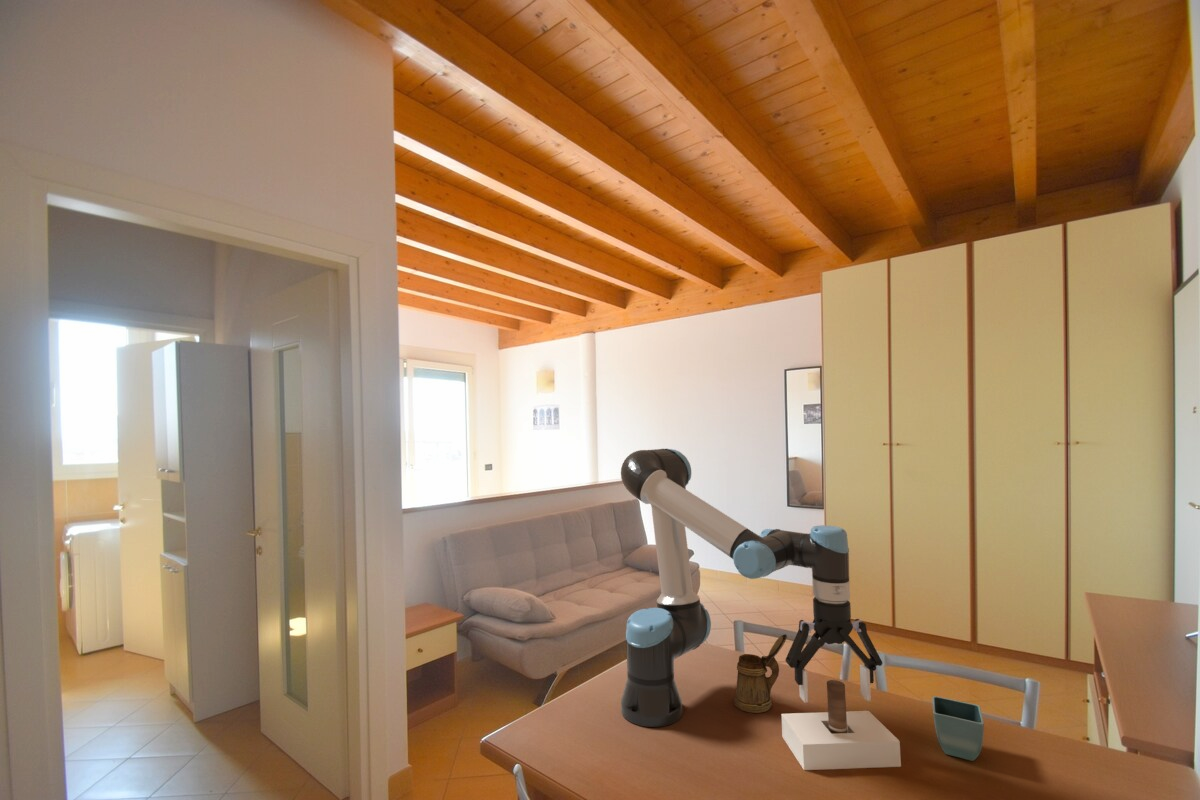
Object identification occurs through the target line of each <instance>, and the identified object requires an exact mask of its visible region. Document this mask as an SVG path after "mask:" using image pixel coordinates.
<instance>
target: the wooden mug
mask: <svg viewBox="0 0 1200 800" xmlns="http://www.w3.org/2000/svg"><path fill="white" fill-rule="evenodd" d="M787 639H788V635H787V634H786V633H785V634H782V635H781V636H779V637H778V638H777V639H776V640H775V642H774V644H773V645H772V647H771V648H770V650H769V653H768V655H762V656H759V655H756V654H751V653H750V654H749V653H747V654H746V653H744V654H742V655H739V656H738V662H737V664H736V670H737V677H736V678H737V679H736V689H735V690H736V691H735V694H734V700H733V702H734V705H735V706H736V708H738V709H739V710H741V711H744V712H746V713H752V714H753V713H754V714H759V713H765V712H768V711H769V710H770V709H771V708H772V705H773V702H772V697H771V693H772V692H771V691H772V688H773V686H774V684H775V683H776V682H777V679H778V677H779V672H780V667H779V663H778V661H777V660H776V658H775V657H776V656H777V654H779V652H780V651H781V649H782V648H783V647H784V645H785V643H786V641H787ZM768 667H769V669H770V670H771V674H770V676H766V673H767V672H768Z"/></svg>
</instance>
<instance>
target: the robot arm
mask: <svg viewBox="0 0 1200 800" xmlns="http://www.w3.org/2000/svg"><path fill="white" fill-rule="evenodd" d="M620 478H621V481H622V483H623V486H624V487H625V489H626V491H628V492H629V493H630V494H631V495H632V496H634V498H636V499H637V500H639V501H640V502H641V503H643V504H644V505H649V504H650V506H651V515H652V523H653V529H654V530H653V531H654V540H655V541H654V542H655V549H656V557H657V565H658V567H657V568H658V573H659V583H660V591H661V593H660V594H659V597H658V598H657V599H656V605H657V607H648V608H641V609H638V610H636V611H634V612H632V613H631V615H630V616H629V617H628V619H627V621H626V630H625V641H626V667H627V669H626V670H627V672H626V673H627V674H626V675H627V679H626V682H625V687H624V689H623V693H622V697H621V701H620V708H621V709H620V710H621V715H622V716H623V717H624V719H625V720H627V721H628V722H630V723H632V724H635V725H637V726H641V727H648V728H660V727H664V726H665V727H666V726H668V725H672V724H674V723H676V722H678V721H679V720H680V719H681V717H682V716H683V702H682V697H681V695H680V692H679V689H678V685H677V684H676V683H677V682H676V680H675V665H674V664H675V663H674V662H675V661H674V660H676V659H677V658H680V657H681V656H683V655H686V654H687V653H689V652H690V651H694V650H696V649H697V648H699V647H700V646H701V645H702V644H703V643H705V642H706V641H707V639H708V638H709V635H710V633H711V629H712V622H711V621H712V620H711V615H710V613H709V611H708V609H706V608H705V605H704V604H703V603H702V602H701V600H700V599H701V598H700V596H699V595H698V594H697V593H696V592H695V591H694V590H693V589H694V588H693V581H692V580H693V579H692V573H691V571H692V570H691V564H690V555H689V549H688V547H689V546H688V541H687V532H686V528H687V529H688V530H690V531H691V532H693V533H694V534H695V535H697V536H699V537H701V538H702V539H703V540H704V541H706V542H707V543H709V544H710V545H711V546H713V547H715V548H716V549H718V550H719V551H721V552H722V553H724V554H725V555H727V556H728V557H729V558H730V559H732V560H733V565H734V567H735V569H736V570H737V571H738V573H739V574H740V575H741V576H743V577H745V578H748V579H750V580H754V579H761V578H764V577H768V576H769V575H771V574H772V573H774V572H776V571H779V570H781V569H784V568H785V567H788V566H794V567H800V568H806V569H811V576H812V595H813V596H814V597H813V599H812V606H813V607H812V608H813V610H812V611H813V621H812V622H809V621H805V620H803V619H801V620H799V622H798V630H797V634H796V635H795V637H794V640H793V641H792V644H791V646H790V648H789V650H788V653H787V655H786V657H785V663H787V665H788V666H789V667H790V668H791V669H794V681H795V682H796V684H797V685H798V686H799V687H798V689H799V690H798V691H799V698H800V699H801V700H802V701H803V703H804V704H806V703H809V691H808V688H809V687H808V686H809V685H808V670H807V669H806V667H807V665H808V664H809V663H810V661H811V660H812V658H813V657H814V656H815V655H816V653H817V652H818V651H819V650H820V648H821V647H824V645H825V644H827V645H833V644H838V645H842V644H844V643H846V644H847V646H848V647H849V649H851V650H852V651H853V652H854V654H855V655H856V656H857V658H859V660H860V661H861V662H862V663H863V664H859V680H860V696H862V698H864V699H865V701H866V702H871V701H872V700H871V699H872V697H871V695H872V693H871V684H873V683H874V681H875V680H874V679H875V678H874V672H875V671H876V670H877V666H878V667H881V666H882V665H883V661H882V659H881V657H880V655H879V653H878V651H877V649H876V648H875V645H874V644H873V641H872V639H871V637H870V636H869V634H868V630H867V624H866V623H865V622H864V621H862V620H861V619H860V618H856V619H855V620H853V621H851V618H852V616H851V615H852V611H851V610H852V609H851V602H850V598H851V589H850V587H851V586H850V583H851V581H850V548H849V541H848V533H847V531H846V530H845V529H844V528H842V527H840V526H835V525H824V524H823V525H822V524H821V525H820V524H819V525H815V526H812V527H811V528H810V532H809V533H805V532H797V531H789V530H783V529H779V528H775V529H772V528H765V529H763V530H762V531H761V532H760V533H759V534H757V533H755V532H754V531H752V530H750V528H747V527H745V526H744V525H743V524H742V523H739V521H736V520H735V519H733V518H732V517H730V516H728V515H727V514H726V513H724V512H722V511H721V510H719V509H718V508H716V507H715V506H713V505H711V504H710V503H708V502H706V501H705V500H703V499H701V498H700V497H698V496H697V495H696V494H693V493H692V492H691V491H689V490H688V489H686V487H687V485H688V484H689V482H690V481H691V480H692V479H691V478H692V467H691V463H690V461H689V459H688V457H686V455H684V454H683V453H682V452H680V451H679V450H677V449H672V448H657V449H639V450H635V451H634V452H632V453H630V454H629V455H628V456H627V457H626V458H625V459H624V460H623V463H622V464H621V468H620ZM853 629H854V631H855V632H856V633H857V635H858V637H859V639H860V641H861V643H862V644H863V647H864V648H865V650H866V652H867V654H868V656H869V657H868V656H867V655H866V654H865V653H864V652H863V650H862V649H861V648H860V647H859V646H858V644H857V643H856V641H854V639H853V638H852V637H851V636H850V634H851V632H852V630H853ZM812 630H813V631H814V632H813V634H812V635H811V638H810V640H809V641H808V638H809V634H810V633H812ZM807 641H808V642H807ZM806 643H807V644H806ZM805 644H806V645H805Z"/></svg>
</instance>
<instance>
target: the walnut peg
mask: <svg viewBox="0 0 1200 800" xmlns="http://www.w3.org/2000/svg"><path fill="white" fill-rule="evenodd" d="M826 692H827V693H826V694H827V712H828V720H829V731H830V733H831V734H836V733H847V718H846V712H847V706H846V705H847V704H846V703H847V701H846V700H847V699H846V698H847V697H846V684H845V683H844V682H842V681H839V680H835V679H830V680H827V681H826Z"/></svg>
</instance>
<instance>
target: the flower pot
mask: <svg viewBox="0 0 1200 800" xmlns="http://www.w3.org/2000/svg"><path fill="white" fill-rule="evenodd" d="M931 698H932V699H931V700H932V714H933V720H934V729H935V733H936V737H937V742H938V744H939V745H940V748H941V750H943V752H944V754H945V755H949V756H952V757H955V758H959V759H964V760H967V761H972V762H973V761H974V762H975V760H976V759H977V758H978V757H979V756H980V754H981V751H982V748H983V743H984V742H983V741H984V731H985V730H984V728H985V722H984V718H983V715H982V709H981V706H980V705H979V704H974V703H969V702H964V701H959V700H955V699H951V698H945V697H941V696H935V695H933V696H931Z"/></svg>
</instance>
